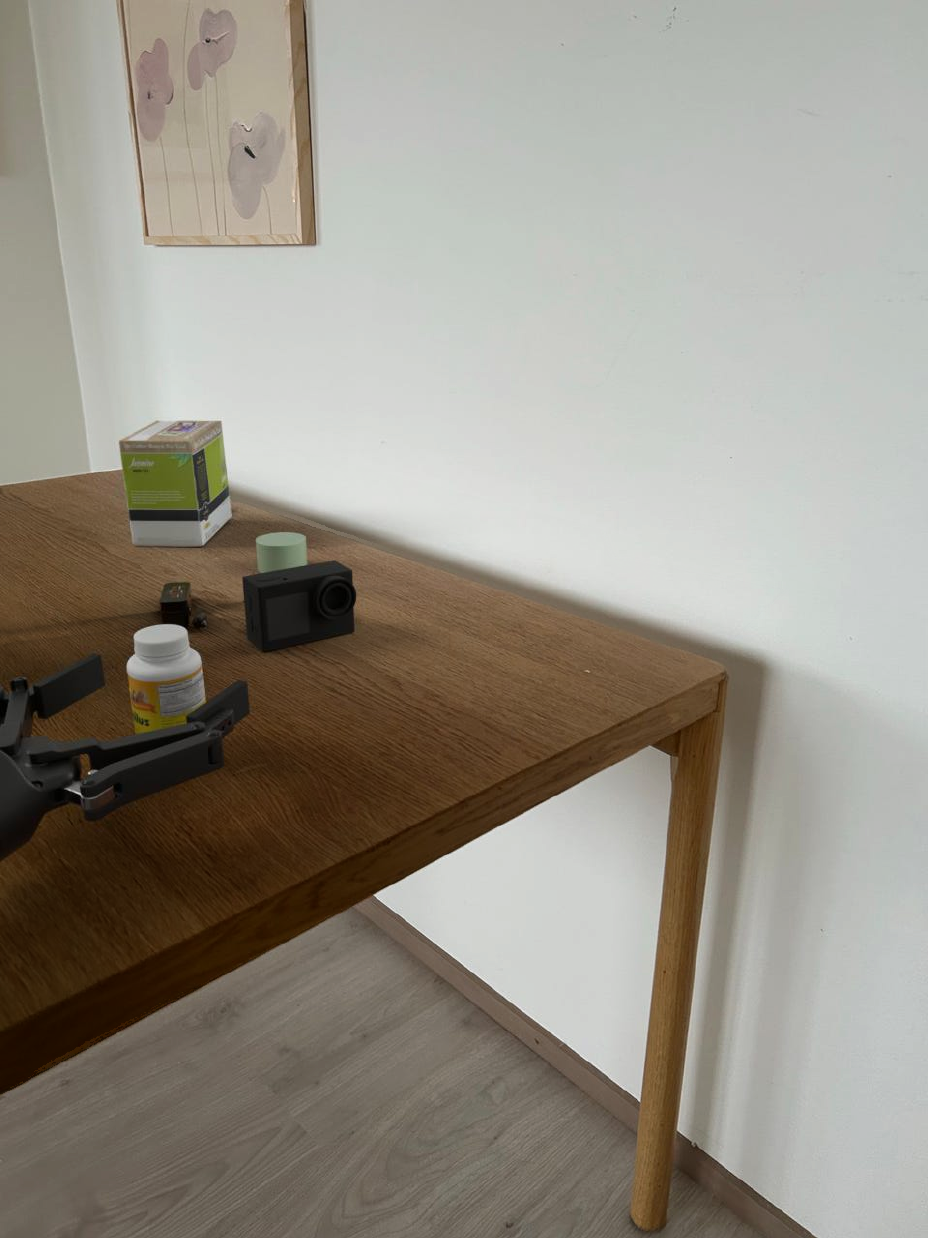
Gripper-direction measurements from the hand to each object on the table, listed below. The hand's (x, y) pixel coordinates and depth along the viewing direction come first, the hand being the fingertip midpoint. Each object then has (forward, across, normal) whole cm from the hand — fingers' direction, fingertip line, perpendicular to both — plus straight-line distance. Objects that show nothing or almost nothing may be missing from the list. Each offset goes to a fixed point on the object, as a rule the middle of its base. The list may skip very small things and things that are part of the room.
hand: (170, 682), depth 75 cm
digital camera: (+24, -3, -6) cm, 25 cm away
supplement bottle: (0, 0, -6) cm, 6 cm away
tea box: (+53, -38, -6) cm, 66 cm away
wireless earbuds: (+24, -17, -6) cm, 30 cm away
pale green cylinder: (+41, -15, -6) cm, 44 cm away
